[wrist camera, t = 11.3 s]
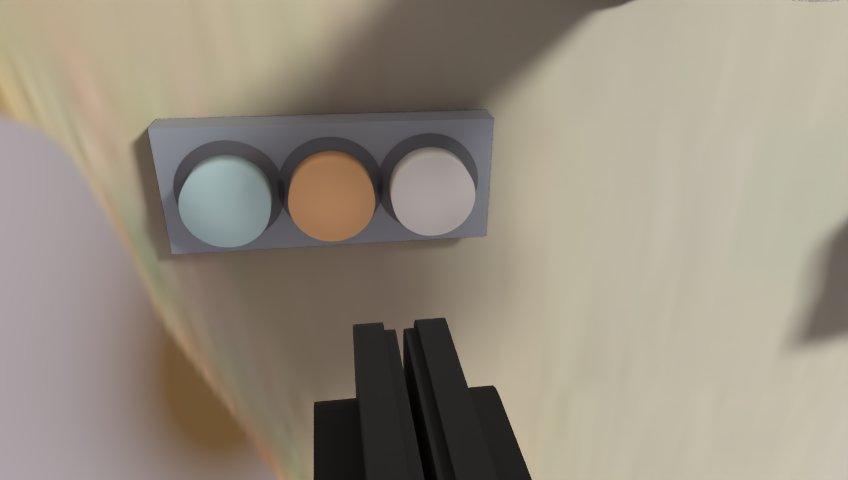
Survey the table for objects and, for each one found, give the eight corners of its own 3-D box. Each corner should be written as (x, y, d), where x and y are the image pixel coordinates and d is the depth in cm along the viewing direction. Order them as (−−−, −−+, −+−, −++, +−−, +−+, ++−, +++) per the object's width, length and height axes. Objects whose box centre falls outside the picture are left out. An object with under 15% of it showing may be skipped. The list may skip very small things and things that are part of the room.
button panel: (486, 109, 40) (494, 118, 38) (479, 223, 43) (486, 236, 42) (155, 119, 37) (147, 129, 35) (178, 240, 41) (171, 255, 39)
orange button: (371, 149, 37) (374, 160, 35) (373, 224, 40) (376, 239, 38) (285, 152, 37) (284, 164, 35) (292, 229, 39) (291, 243, 37)
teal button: (268, 152, 36) (265, 164, 35) (276, 230, 39) (274, 244, 37) (178, 156, 36) (171, 168, 34) (192, 234, 38) (186, 249, 36)
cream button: (470, 145, 38) (477, 156, 36) (466, 219, 40) (473, 233, 39) (388, 148, 37) (391, 159, 36) (389, 223, 40) (392, 238, 38)
